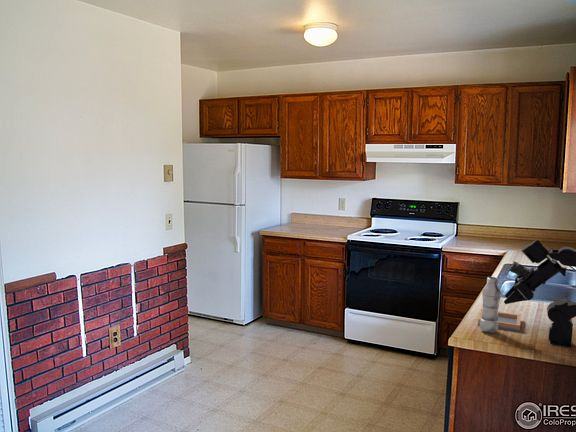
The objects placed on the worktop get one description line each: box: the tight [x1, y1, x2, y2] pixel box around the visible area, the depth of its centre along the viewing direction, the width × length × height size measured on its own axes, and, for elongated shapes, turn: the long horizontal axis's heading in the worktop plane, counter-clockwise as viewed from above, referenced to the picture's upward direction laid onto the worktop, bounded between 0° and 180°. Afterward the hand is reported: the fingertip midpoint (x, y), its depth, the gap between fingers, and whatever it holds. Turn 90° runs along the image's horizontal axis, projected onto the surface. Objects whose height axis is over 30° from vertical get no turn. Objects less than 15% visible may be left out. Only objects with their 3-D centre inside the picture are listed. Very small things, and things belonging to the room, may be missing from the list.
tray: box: [477, 308, 521, 332], centre depth 190 cm, size 14×14×2 cm
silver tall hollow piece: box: [479, 276, 502, 334], centre depth 179 cm, size 6×7×20 cm
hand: (505, 299), depth 176 cm, fingers open, 9 cm apart
